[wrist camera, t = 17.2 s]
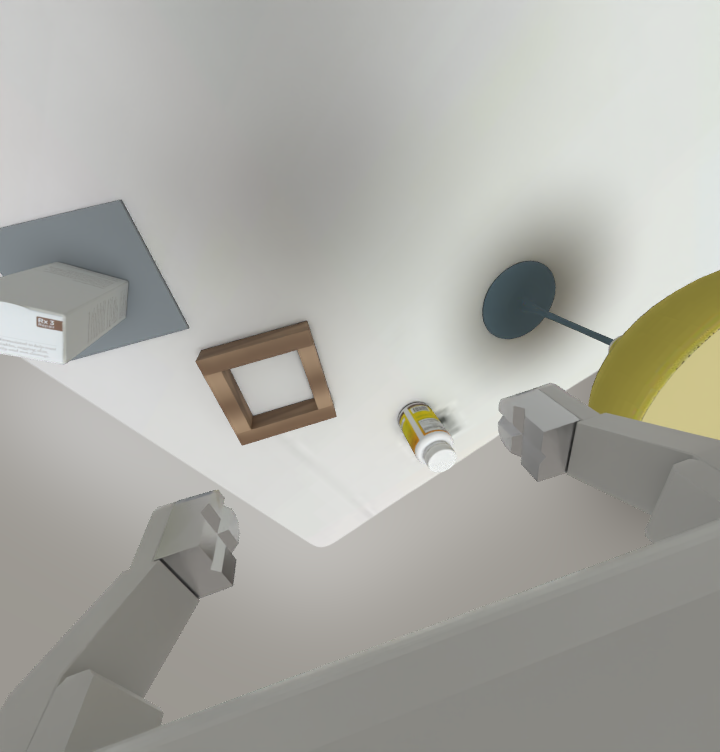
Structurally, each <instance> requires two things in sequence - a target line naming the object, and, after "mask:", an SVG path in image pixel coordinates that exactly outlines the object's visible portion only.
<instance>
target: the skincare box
mask: <svg viewBox="0 0 720 752" xmlns="http://www.w3.org/2000/svg"><path fill="white" fill-rule="evenodd" d="M128 284H129V283H128V281H126V280H122V279H119V278H115V277H111V276H108V275H104V274H100V273H97V272H93V271H90V270H86V269H82V268H78V267H75V266H71V265H68V264H64V263H60V262H55V263H51V264H47V265H43V266H40V267H36V268H32V269H29V270H25V271H22V272H18V273H14V274H10V275H7V276H3V277H0V354H6V355H12V356H18V357H23V358H29V359H35V360H41V361H46V362H52V363H58V364H66V363H68V362H69V361H70V360H72V359H73V358H74V357H76V356H77V355H78V354H79V353H81V352H82V351H83V350H85V349H86V348H87V347H88V346H90V345H91V344H92V343H94V342H95V341H96V340H97V339H99V338H100V337H101V336H103V335H104V334H105V333H107V332H108V331H109V330H110V329H112V328H113V327H114V326H116V325H117V324H118V323H119V322H121V321H122V320H123V319H125V318H126V308H127V295H128Z"/></svg>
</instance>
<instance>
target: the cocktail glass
mask: <svg viewBox="0 0 720 752" xmlns="http://www.w3.org/2000/svg"><path fill="white" fill-rule="evenodd" d="M554 296H555V280H554V277H553V274H552V272H551V271H550V270H549V268H548V267H546V266H545V265H544V264H542V263H539V262H534V261H526V262H521V263H518V264H515V265H513V266H511V267H510V268H508V269H507V270H505V271H504V272H503V273H502V274H501V275H500V276H499V277H497V279H496V280H495V281H494V282H493V284H492V285H491V287H490V288H489V290H488V292H487V295H486V297H485V300H484V305H483V320H484V323H485V326H486V327H487V329H488V330H489V331H490V332H491V333H492V334H493V335H495V336H496V337H499V338H503V339H513V338H517V337H520V336H523V335H525V334H527V333H528V332H530V331H532V330H533V329H534V328H535V327H536V326H538V324H539V323H540V322H541V321H542V320H543V319H544V318H545V317H546V318H548V319H551V320H553V321H556V322H558V323H560V324H563V325H565V326H567V327H569V328H572V329H574V330H576V331H579V332H581V333H583V334H586V335H588V336H590V337H592V338H594V339H597V340H599V341H601V342H603V343H605V344H608V345H610V346H609V354H608V355H607V357H606V358H605V360H604V362H603V364H602V366H601V367H600V369H599V371H598V373H597V376H596V378H595V381H594V384H593V386H592V390H591V394H590V399H589V407H590V408H592V409H593V410H595V411H596V412H598V413H599V414H603V413H609V414H613V415H618V416H622V417H626V418H630V419H634V420H638V421H642V422H647V423H651V424H655V425H659V426H663V427H667V428H672V429H676V430H680V431H684V432H688V433H692V434H696V435H701V436H705V437H709V438H713V439H717V440H720V270H719V271H717V272H714V273H712V274H709V275H707V276H704V277H702V278H699V279H697V280H696V281H694V282H692V283H690V284H688V285H686V286H684V287H683V288H681V289H679V290H677V291H675V292H674V293H672V294H671V295H669V296H667V297H666V298H665V299H663V300H662V301H660V302H659V303H657V304H656V305H654V306H653V307H652V308H651V309H649V310H648V311H647V312H646V313H645V314H643V315H642V316H641V317H640V318H639V319H638V320H637V321H636V322H635V323H634V324H633V325H632V326H631V327H630V328H629V329H628V330H627V331H626V332H625V333H624V334H623V335H622V336H619V337H617V338H616V339H614V340H613V339H611V338H608V337H606V336H603V335H601V334H599V333H596V332H594V331H592V330H589V329H587V328H585V327H582V326H580V325H578V324H575V323H573V322H571V321H568V320H566V319H564V318H562V317H560V316H557V315H555V314H553V313H551V312H549V310H550V308H551V306H552V303H553V300H554Z"/></svg>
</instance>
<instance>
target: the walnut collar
mask: <svg viewBox="0 0 720 752" xmlns="http://www.w3.org/2000/svg"><path fill="white" fill-rule="evenodd" d="M295 350H298V353H299V356H300V359H301V361H302V364H303V367H304V370H305V373H306V376H307V379H308V381H309V384H310V387H311V390H312V393H313V396H314V398H312V399H309V400H306V401H302V402H299V403H296V404H292V405H289V406H285V407H282V408H279V409H275V410H272V411H269V412H265V413H262V414H259V415H255V416H253V415H252V413H251V411H250V409H249V407H248V405H247V403H246V401H245V399H244V397H243V395H242V393H241V391H240V389H239V387H238V385H237V383H236V381H235V379H234V377H233V375H232V373H231V371H230V369H232V368H235V367H239V366H242V365H246V364H249V363H253V362H256V361H260V360H263V359H267V358H270V357H274V356H277V355H281V354H284V353H288V352H291V351H295ZM196 363H197V365H198V367H199V369H200V370H201V372H202V374H203V376H204V378H205V379H206V381H207V383H208V385H209V387H210V389H211V390H212V392H213V394H214V396H215V398H216V399H217V401H218V403H219V405H220V407H221V408H222V410H223V412H224V414H225V416H226V417H227V419H228V421H229V423H230V425H231V427H232V428H233V430H234V432H235V434H236V436H237V437H238V439H239V441H240V443H241V445H246V444H249V443H252V442H255V441H259V440H262V439H265V438H269V437H272V436H275V435H278V434H282V433H285V432H288V431H291V430H295V429H298V428H301V427H305V426H308V425H311V424H314V423H318V422H321V421H324V420H327V419H331V418H334V417H337V416H336V412H335V408H334V404H333V401H332V398H331V395H330V392H329V388H328V385H327V382H326V379H325V376H324V373H323V369H322V366H321V363H320V360H319V357H318V354H317V350H316V347H315V344H314V341H313V338H312V335H311V331H310V328H309V325H308V322H307V321H305V322H301V323H298V324H294V325H291V326H287V327H283V328H280V329H276V330H273V331H269V332H266V333H262V334H258V335H255V336H251V337H248V338H244V339H240V340H237V341H233V342H230V343H226V344H222V345H219V346H215V347H212V348H208V349H205V350H201V352H200V354H199V356H198V358H197V360H196Z"/></svg>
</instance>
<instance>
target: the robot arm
mask: <svg viewBox="0 0 720 752" xmlns="http://www.w3.org/2000/svg"><path fill="white" fill-rule="evenodd" d="M499 412H500V413H501V414H502V415H503V416H502V418H501V419H500V421H499V422H498V431H499V434H500V437H501V440H502V442H503V443H504V445H505V447H506V448H507V449H508V450H509V451H510V452H511V453H513V454H515V455H517V456H520V457H521V465H522V466H523V467H524V468H525V469H526V470H527V471H528V472H529V473H530V474H531V475H532V477H534V479H535V480H536V481H537V482H539V481H542V480H545V479H549V478H552V477H555V476H558V475H561V474H565V473H567V475H569V476H571V477H573V478H575V479H577V480H579V481H581V482H583V483H585V484H587V485H590V486H592V487H594V488H596V489H598V490H600V491H602V492H604V493H606V494H608V495H610V496H612V497H614V498H617V499H619V500H621V501H623V502H625V503H627V504H629V505H631V506H633V507H635V508H637V509H639V510H642V511H643V512H645V513H647V514H650V515H651V517H650V520H649V522H648V524H647V526H646V528H645V536H646V537H647V538H648V539H649V540H650V541H651V542H652V543H653V544H650V545H647V546H645V547H642V548H639V549H636V550H634V551H631V552H628V553H626V554H623V555H620V556H618V557H615V558H612V559H609V560H607V561H604V562H601V563H599V564H596V565H593V566H591V567H588V568H586V569H582V570H580V571H577V572H574V573H572V574H569V575H566V576H564V577H561V578H558V579H555V580H553V581H551V582H547V583H545V584H542V585H539V586H536V587H534V588H531V589H528V590H526V591H523V592H520V593H518V594H515V595H512V596H509V597H507V598H504V599H501V600H499V601H496V602H493V603H491V604H488V605H485V606H482V607H480V608H477V609H474V610H472V611H469V612H467V613H464V614H461V615H458V616H455V617H453V618H450V619H447V620H445V621H442V622H439V623H437V624H434V625H431V626H428V627H426V628H423V629H420V630H418V631H415V632H412V633H410V634H407V635H404V636H402V637H399V638H396V639H393V640H391V641H388V642H385V643H382V644H380V645H377V646H374V647H372V648H369V649H366V650H364V651H361V652H358V653H356V654H353V655H350V656H348V657H345V658H342V659H339V660H337V661H334V662H331V663H328V664H326V665H323V666H320V667H318V668H315V669H312V670H310V671H307V672H304V673H302V674H299V675H296V676H293V677H291V678H288V679H286V680H283V681H280V682H277V683H275V684H272V685H269V686H266V687H264V688H261V689H258V690H256V691H253V692H250V693H248V694H245V695H242V696H240V697H237V698H234V699H231V700H229V701H226V702H223V703H221V704H218V705H215V706H213V707H210V708H208V709H205V710H202V711H199V712H197V713H194V714H191V715H188V716H186V717H183V718H180V719H177V720H175V721H172V722H170V723H167V724H164V725H161V722H162V718H163V711H162V710H161V708H160V707H159V706H157V705H155V704H153V703H151V702H149V701H147V700H146V699H144V697H145V695H146V693H147V691H148V690H149V688H150V686H151V685H152V683H153V681H154V679H155V678H156V676H157V674H158V672H159V671H160V669H161V667H162V665H163V664H164V662H165V660H166V658H167V657H168V655H169V653H170V652H171V650H172V648H173V646H174V645H175V643H176V641H177V639H178V637H179V636H180V634H181V632H182V630H183V629H184V627H185V625H186V624H187V622H188V620H189V618H190V617H191V615H192V613H193V612H194V610H195V608H196V606H197V605H198V603H199V599H200V598H202V597H205V596H208V595H211V594H213V593H216V592H219V591H221V590H224V589H227V588H229V587H232V586H233V582H234V574H235V567H236V559H235V557H234V556H233V555H232V552H233V551H234V549H235V548H236V546H237V545H238V543H239V542H238V541H239V524H238V520H237V518H236V515H235V513H234V511H233V510H232V508H229V507H226V506H224V505H223V504H224V499H225V498H224V497H223V495H222V494H221V493H220V491H219V490H213V491H210V492H207V493H203V494H199V495H196V496H193V497H189V498H186V499H182V500H179V501H177V502H174V503H170V504H167V505H163V506H160V507H158V508H157V509H156V510H155V511H154V512H153V513H152V516H151V519H150V521H149V523H148V525H147V528H146V530H145V533H144V535H143V538H142V540H141V542H140V545H139V547H138V549H137V552H136V554H135V557H134V559H133V562H132V564H131V566H130V569H129V570H126V571H124V572H122V573H121V574H120V575H119V577H118V578H116V580H115V581H114V582H113V583H112V584H111V585H110V586H109V587H108V588H107V589H106V590H105V592H104V593H103V594H102V595H101V596H100V597H99V598H98V599H97V600H96V601H95V602H94V603H93V605H91V607H90V608H89V609H88V610H87V611H86V612H85V613H84V614H83V615H82V616H81V617H80V618H79V620H78V621H77V622H76V623H75V624H74V625H73V626H72V627H71V628H70V629H69V630H68V631H67V632H66V634H65V635H64V636H63V637H62V638H61V639H60V640H59V641H58V642H57V643H56V645H54V647H53V648H52V649H51V650H50V651H49V652H48V653H47V654H46V655H45V656H44V657H43V659H42V660H41V661H40V662H39V663H38V664H37V665H36V666H35V667H34V668H33V669H32V670H31V671H30V673H29V674H28V675H27V676H26V677H25V678H24V679H23V680H22V681H21V682H20V683H19V684H18V686H17V687H16V688H15V689H14V690H13V691H12V692H11V693H10V694H9V696H8V697H7V699H6V701H5V703H4V705H3V706H2V708H1V710H0V752H720V440H717V439H713V438H709V437H705V436H701V435H696V434H692V433H688V432H684V431H680V430H676V429H672V428H667V427H663V426H659V425H655V424H651V423H647V422H642V421H638V420H634V419H630V418H626V417H622V416H618V415H613V414H609V413H603V414H599V413H598V412H596V411H595V410H593V409H592V408H590V407H589V406H587V405H586V404H584V403H583V402H581V401H580V400H578V399H577V398H575V397H574V396H572V395H571V394H569V393H568V392H566V391H565V390H563V389H562V388H560V387H559V386H557V385H556V384H552V383H549V384H546V385H543V386H540V387H537V388H534V389H531V390H528V391H525V392H522V393H519V394H516V395H513V396H510V397H506V398H503V399H501V400H500V402H499Z"/></svg>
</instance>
